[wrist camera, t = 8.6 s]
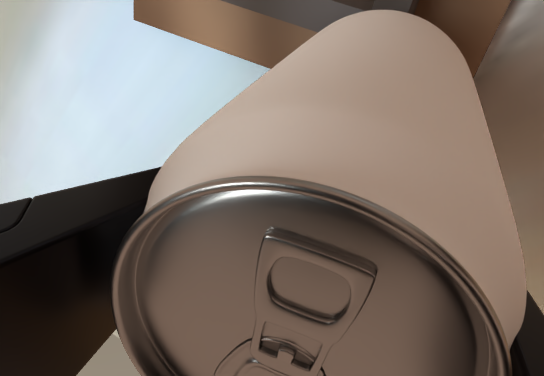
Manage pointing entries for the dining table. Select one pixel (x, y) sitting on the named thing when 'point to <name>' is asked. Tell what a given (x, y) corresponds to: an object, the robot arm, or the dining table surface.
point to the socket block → (311, 22)
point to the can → (331, 222)
